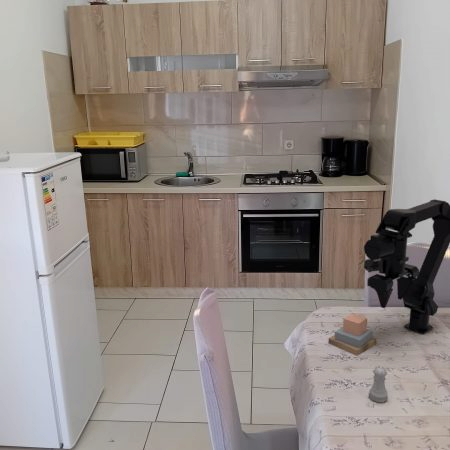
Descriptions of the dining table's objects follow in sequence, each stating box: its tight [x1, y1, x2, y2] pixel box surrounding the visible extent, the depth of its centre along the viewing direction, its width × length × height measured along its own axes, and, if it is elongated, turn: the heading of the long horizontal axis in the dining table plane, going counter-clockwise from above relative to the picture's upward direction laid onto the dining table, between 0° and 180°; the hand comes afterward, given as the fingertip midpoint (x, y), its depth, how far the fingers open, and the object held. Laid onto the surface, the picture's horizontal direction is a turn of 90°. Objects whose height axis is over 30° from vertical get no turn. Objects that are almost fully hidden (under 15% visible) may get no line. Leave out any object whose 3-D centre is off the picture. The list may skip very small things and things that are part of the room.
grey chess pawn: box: [368, 365, 389, 404], centre depth 114 cm, size 4×4×8 cm
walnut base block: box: [328, 334, 378, 357], centre depth 140 cm, size 10×10×2 cm
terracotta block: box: [342, 313, 368, 336], centre depth 139 cm, size 5×5×4 cm
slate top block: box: [334, 326, 374, 348], centre depth 140 cm, size 8×8×2 cm
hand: (391, 303), depth 139 cm, fingers open, 9 cm apart
